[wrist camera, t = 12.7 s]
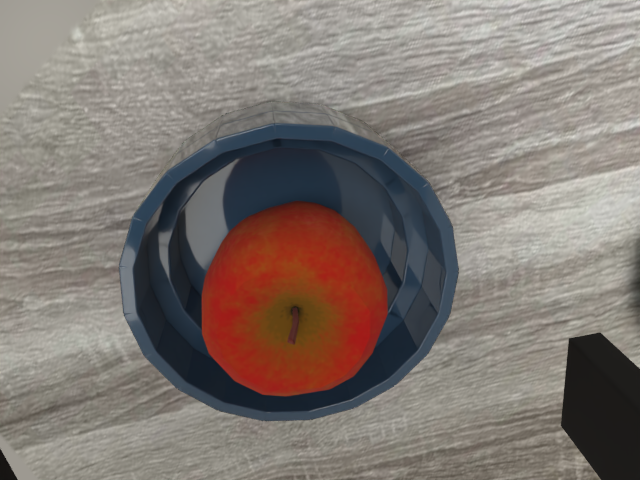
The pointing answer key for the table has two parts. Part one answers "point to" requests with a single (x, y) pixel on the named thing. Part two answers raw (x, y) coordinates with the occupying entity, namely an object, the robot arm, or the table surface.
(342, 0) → the table surface
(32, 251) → the table surface
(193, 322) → the bowl
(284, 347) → the apple
